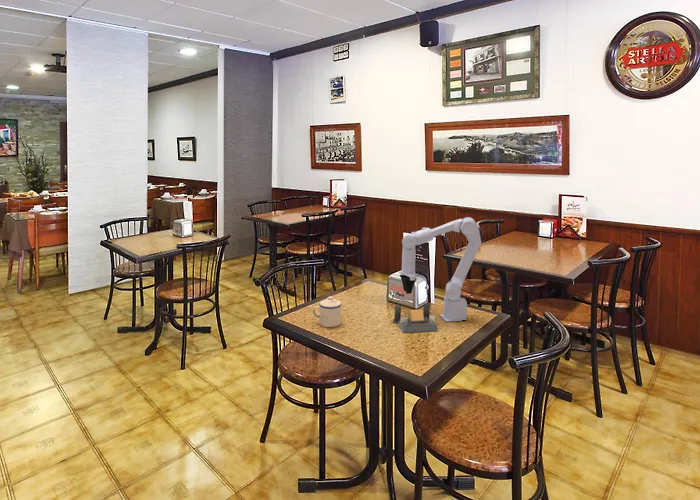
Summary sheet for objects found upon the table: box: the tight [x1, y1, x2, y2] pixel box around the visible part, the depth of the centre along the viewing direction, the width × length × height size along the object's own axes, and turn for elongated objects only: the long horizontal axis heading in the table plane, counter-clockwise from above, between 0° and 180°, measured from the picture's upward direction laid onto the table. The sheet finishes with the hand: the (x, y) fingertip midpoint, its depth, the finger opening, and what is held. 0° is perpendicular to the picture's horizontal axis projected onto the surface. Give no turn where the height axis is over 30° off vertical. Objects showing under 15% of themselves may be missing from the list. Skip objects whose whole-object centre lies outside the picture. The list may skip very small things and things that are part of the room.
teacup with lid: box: [312, 296, 342, 328], centre depth 185 cm, size 12×9×12 cm
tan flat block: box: [409, 309, 425, 322], centre depth 182 cm, size 6×1×5 cm, turn 98°
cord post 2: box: [422, 303, 431, 318], centre depth 190 cm, size 4×4×7 cm
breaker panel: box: [397, 315, 438, 334], centre depth 181 cm, size 14×8×5 cm, turn 98°
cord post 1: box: [392, 304, 402, 325], centre depth 188 cm, size 4×4×7 cm
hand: (407, 292), depth 195 cm, fingers open, 3 cm apart
